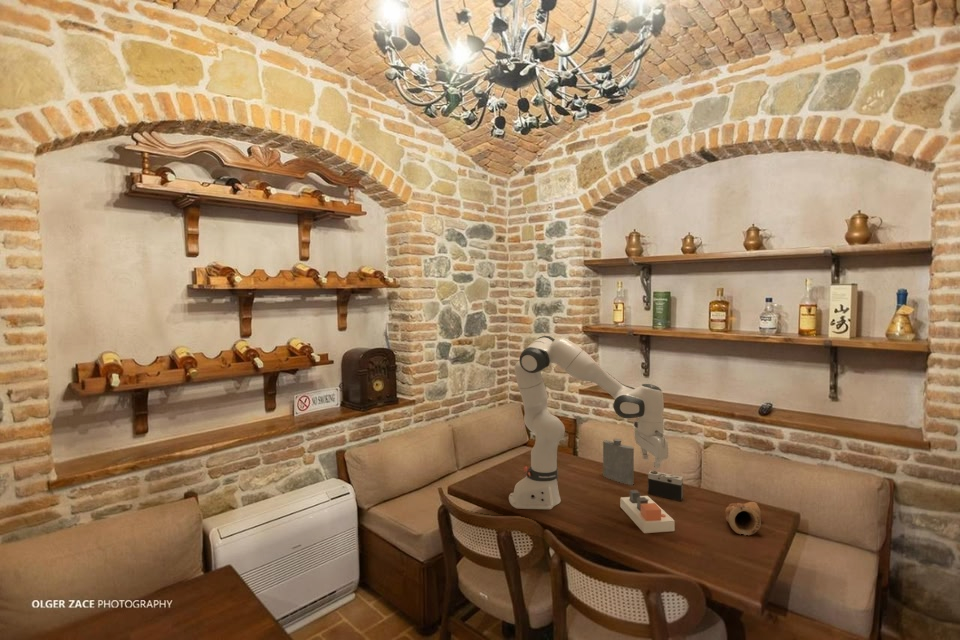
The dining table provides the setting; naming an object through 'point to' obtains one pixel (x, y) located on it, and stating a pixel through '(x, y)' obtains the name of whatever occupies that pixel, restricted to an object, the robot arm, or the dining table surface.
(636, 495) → the block
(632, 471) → the hip flask
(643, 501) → the block
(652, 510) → the cap
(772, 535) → the dining table surface
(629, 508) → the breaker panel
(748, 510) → the clay pipe
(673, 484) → the camera
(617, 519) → the dining table surface
